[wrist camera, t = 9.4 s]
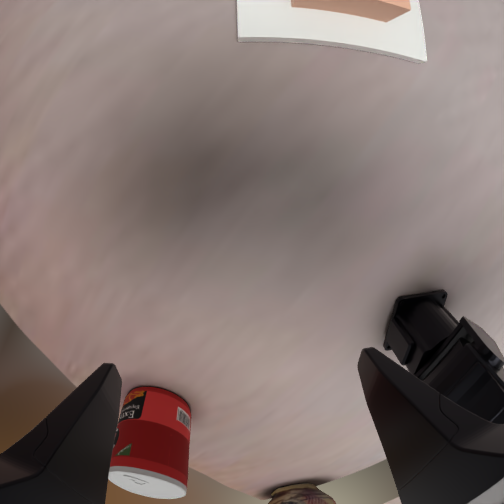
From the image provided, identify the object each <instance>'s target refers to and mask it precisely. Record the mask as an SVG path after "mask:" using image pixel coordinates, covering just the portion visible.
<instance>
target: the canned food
mask: <svg viewBox="0 0 504 504" xmlns="http://www.w3.org/2000/svg"><path fill="white" fill-rule="evenodd" d="M190 427H191V413H190V409H189V407H188V405H187V403H186V402H185V401H184V400H183V399H182V398H180V397H179V396H177V395H176V394H174V393H172V392H170V391H167V390H164V389H160V388H155V387H139V388H135V389H133V390H132V391H130V393H129V394H128V395H127V396H126V398H125V400H124V404H123V407H122V411H121V414H120V418H119V422H118V426H117V429H116V434H115V439H114V445H113V451H112V457H111V463H110V469H109V476H108V479H109V480H110V481H111V482H113V483H114V484H116V485H117V486H119V487H121V488H123V489H125V490H128V491H130V492H133V493H136V494H139V495H143V496H148V497H153V498H161V499H175V498H180V497H183V496H185V495H186V490H187V480H188V460H189V443H190Z"/></svg>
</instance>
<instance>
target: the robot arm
mask: <svg viewBox="0 0 504 504" xmlns="http://www.w3.org/2000/svg"><path fill="white" fill-rule="evenodd" d="M446 298H447V292H446V291H445V290H441V291H435V292H429V293H423V294H417V295H411V296H404V297H400V298H398V299H397V300H396V303H395V307H394V311H393V315H392V318H391V321H390V325H389V328H388V332H387V335H386V339H385V343H384V348H385V350H393V352H394V353H395V355H396V357H397V358H398V360H399V361H400V363H401V364H402V365H406V367H407V368H408V370H409V372H408V371H407V370H405V369H404V368H403V367H401V366H400V365H398V364H397V363H395V362H394V361H392V360H391V359H390V358H388V357H387V356H385V355H384V354H382V353H381V352H380V351H378V350H377V349H375V348H373V347H370V348H364V349H363V350H362V352H361V355H360V358H359V362H358V372H359V375H360V379H361V383H362V387H363V391H364V395H365V399H366V402H367V405H368V408H369V411H370V413H371V416H372V419H373V421H374V424H375V427H376V430H377V432H378V435H379V438H380V441H381V443H382V446H383V449H384V452H385V455H386V457H387V460H388V463H389V466H390V469H391V472H392V475H393V478H394V481H395V484H396V487H397V490H398V494H399V497H400V500H401V503H402V504H504V368H503V365H504V357H503V355H502V353H501V352H500V350H499V348H498V346H497V344H496V343H495V341H494V340H493V339H492V338H491V337H490V336H489V335H488V334H487V333H486V332H485V331H484V330H483V329H482V328H481V327H479V326H478V325H476V324H475V323H473V322H472V321H470V320H468V319H467V318H465V317H464V316H463V317H462V318H461V319H460V322H458V321H457V320H456V319H455V318H454V317H453V316H452V314H451V313H450V312H449V311H448V310H447V309H446V308H445V307H444V304H445V301H446ZM121 387H122V380H121V377H120V375H119V372H118V370H117V368H116V366H115V365H114V364H113V363H103V364H102V365H101V366H100V367H99V368H98V369H97V370H96V371H94V372H93V373H92V374H91V375H90V376H89V377H88V378H87V379H86V380H85V381H84V382H83V383H82V384H80V385H79V386H78V387H77V388H76V389H75V390H74V391H73V392H72V393H71V394H70V395H69V396H68V397H67V398H66V399H64V400H63V401H62V402H61V403H60V404H59V405H58V406H57V407H56V408H55V409H54V410H53V411H52V412H51V413H50V414H49V415H48V416H47V417H46V418H44V419H43V420H42V421H41V422H40V423H39V424H38V425H37V426H36V427H35V428H34V429H32V430H31V431H30V432H29V433H28V434H26V435H25V436H24V437H23V438H22V439H20V440H19V441H18V442H16V443H15V444H14V445H12V446H11V447H10V448H9V449H7V450H6V451H4V452H3V453H1V454H0V504H105V499H106V491H107V482H108V476H109V469H110V463H111V457H112V451H113V445H114V439H115V434H116V429H117V424H118V418H119V407H120V396H121Z"/></svg>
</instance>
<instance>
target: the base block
mask: <svg viewBox="0 0 504 504" xmlns="http://www.w3.org/2000/svg"><path fill="white" fill-rule="evenodd" d="M291 7H297V8H308V9H317V10H325V11H332V12H338V13H344V14H350V15H355V16H360V17H365V18H369V19H374V20H378V21H382V22H388V21H390V20H392V19H394V18H396V17H398V16H400V15H402V14H404V13H406V12H408V11H410V10H411V6H410V1H409V0H291Z"/></svg>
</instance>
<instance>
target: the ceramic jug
mask: <svg viewBox="0 0 504 504" xmlns="http://www.w3.org/2000/svg"><path fill="white" fill-rule="evenodd" d="M271 496H272V500H271V501H270V502H269V503H268V504H336V503H335V501H334V500H333V498H331V497H330V496H329V495H327V494H325V493H323V492H322V491H320V490H319V489H318V488H317V487H316V486H315V485H314V484H311V483H303V484H296V485H290V486H286V487H282V488H278V489H276V490H275V491H274V492H273V493H272V494H271Z"/></svg>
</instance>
